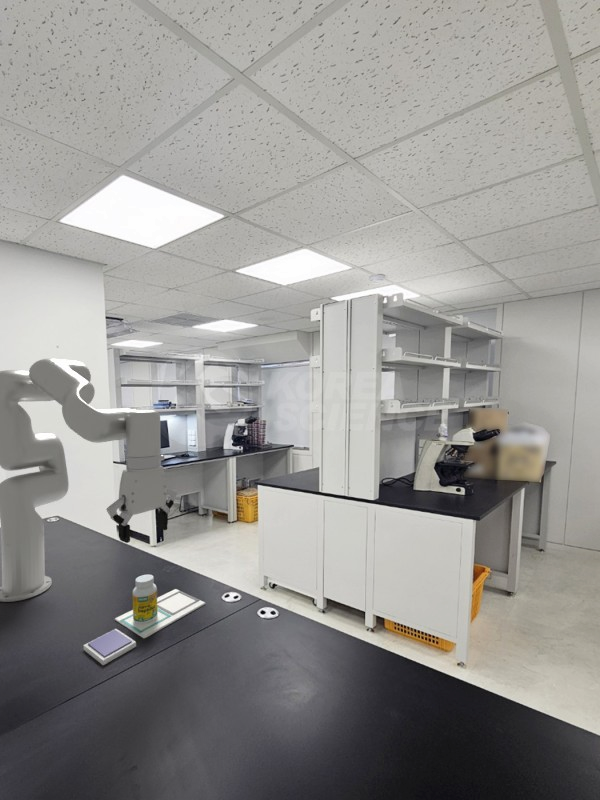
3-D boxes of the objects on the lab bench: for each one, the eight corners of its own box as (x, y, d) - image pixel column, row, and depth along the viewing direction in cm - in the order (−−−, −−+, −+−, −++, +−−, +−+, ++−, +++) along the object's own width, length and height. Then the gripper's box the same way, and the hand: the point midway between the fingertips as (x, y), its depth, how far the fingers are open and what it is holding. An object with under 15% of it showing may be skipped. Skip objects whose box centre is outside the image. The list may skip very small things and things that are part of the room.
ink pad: (83, 649, 81) (83, 643, 81) (116, 632, 87) (115, 627, 87) (103, 665, 77) (103, 658, 77) (136, 646, 82) (136, 640, 82)
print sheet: (115, 620, 92) (115, 618, 92) (175, 590, 106) (175, 588, 106) (144, 638, 85) (144, 636, 85) (205, 604, 99) (205, 602, 99)
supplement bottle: (154, 609, 96) (154, 570, 95) (159, 620, 91) (159, 579, 91) (131, 616, 93) (130, 576, 93) (135, 627, 88) (134, 585, 88)
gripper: (166, 456, 101) (166, 521, 101) (98, 466, 87) (99, 542, 87) (184, 459, 96) (184, 527, 96) (116, 470, 82) (117, 550, 83)
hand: (144, 534), depth 92 cm, fingers open, 9 cm apart
